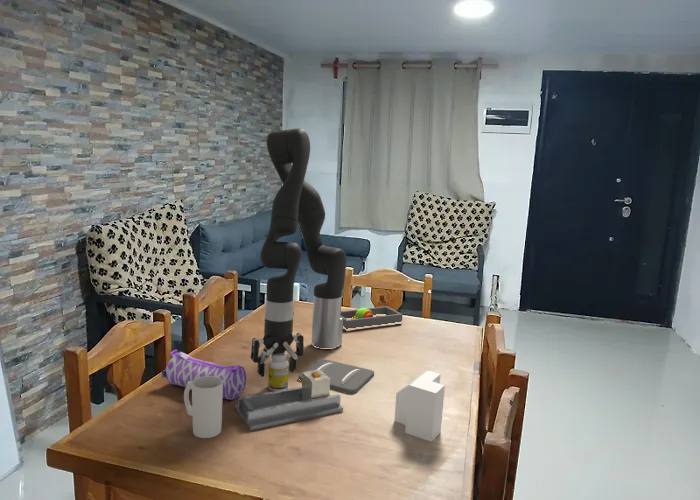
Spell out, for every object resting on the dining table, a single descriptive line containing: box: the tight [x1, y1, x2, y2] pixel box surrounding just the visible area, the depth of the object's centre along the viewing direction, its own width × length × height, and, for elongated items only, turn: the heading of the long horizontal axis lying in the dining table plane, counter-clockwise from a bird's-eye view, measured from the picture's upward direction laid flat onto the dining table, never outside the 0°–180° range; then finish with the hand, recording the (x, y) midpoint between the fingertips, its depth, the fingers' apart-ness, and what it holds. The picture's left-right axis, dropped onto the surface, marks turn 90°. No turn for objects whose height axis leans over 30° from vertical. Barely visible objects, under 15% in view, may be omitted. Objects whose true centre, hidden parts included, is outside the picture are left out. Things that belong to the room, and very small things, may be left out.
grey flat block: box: [297, 358, 375, 395], centre depth 156 cm, size 18×3×15 cm
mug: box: [183, 376, 224, 439], centre depth 123 cm, size 10×7×12 cm, turn 64°
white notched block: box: [394, 370, 446, 442], centre depth 131 cm, size 11×11×12 cm
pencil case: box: [160, 349, 247, 401], centre depth 143 cm, size 22×9×10 cm, turn 67°
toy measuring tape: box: [353, 307, 373, 319], centre depth 206 cm, size 6×19×7 cm, turn 134°
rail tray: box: [235, 370, 344, 432], centre depth 135 cm, size 24×12×9 cm, turn 119°
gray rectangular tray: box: [341, 305, 403, 329], centre depth 205 cm, size 24×11×4 cm, turn 119°
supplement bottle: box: [267, 351, 290, 392], centre depth 147 cm, size 5×5×10 cm
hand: (276, 373), depth 147 cm, fingers open, 8 cm apart
